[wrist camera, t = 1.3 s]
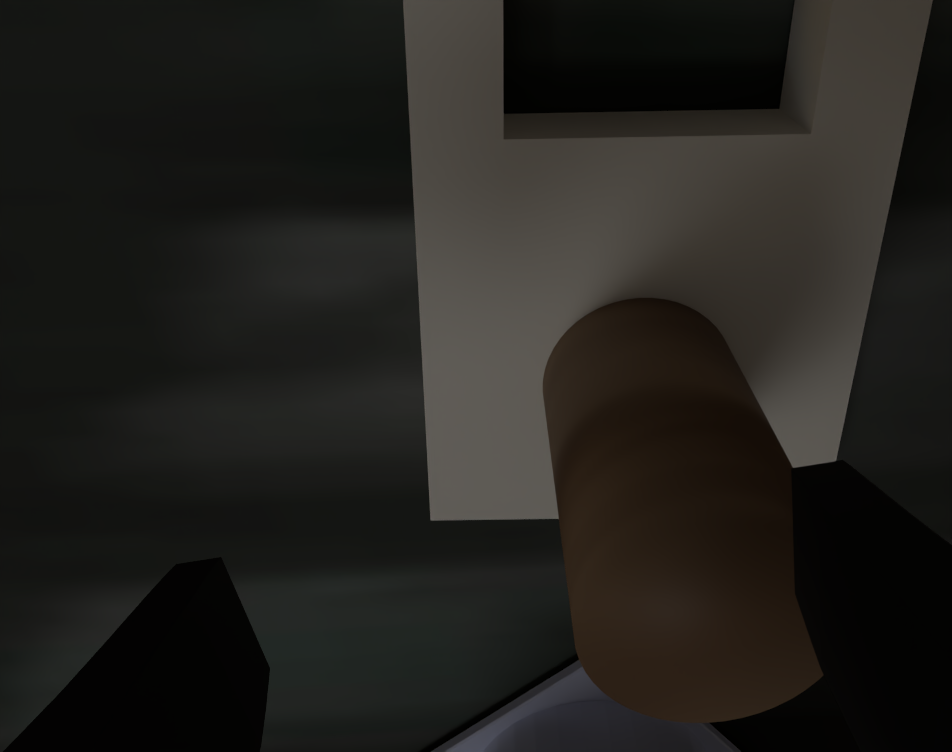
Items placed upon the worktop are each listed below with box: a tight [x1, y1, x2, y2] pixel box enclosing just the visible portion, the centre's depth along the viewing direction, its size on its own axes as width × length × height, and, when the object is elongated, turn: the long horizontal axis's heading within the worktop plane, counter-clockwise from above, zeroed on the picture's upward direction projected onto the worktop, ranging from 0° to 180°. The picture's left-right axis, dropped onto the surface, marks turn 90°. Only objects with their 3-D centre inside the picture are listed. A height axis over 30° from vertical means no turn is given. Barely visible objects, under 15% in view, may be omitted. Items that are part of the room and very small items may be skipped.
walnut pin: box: [543, 298, 823, 723], centre depth 16 cm, size 4×4×7 cm
